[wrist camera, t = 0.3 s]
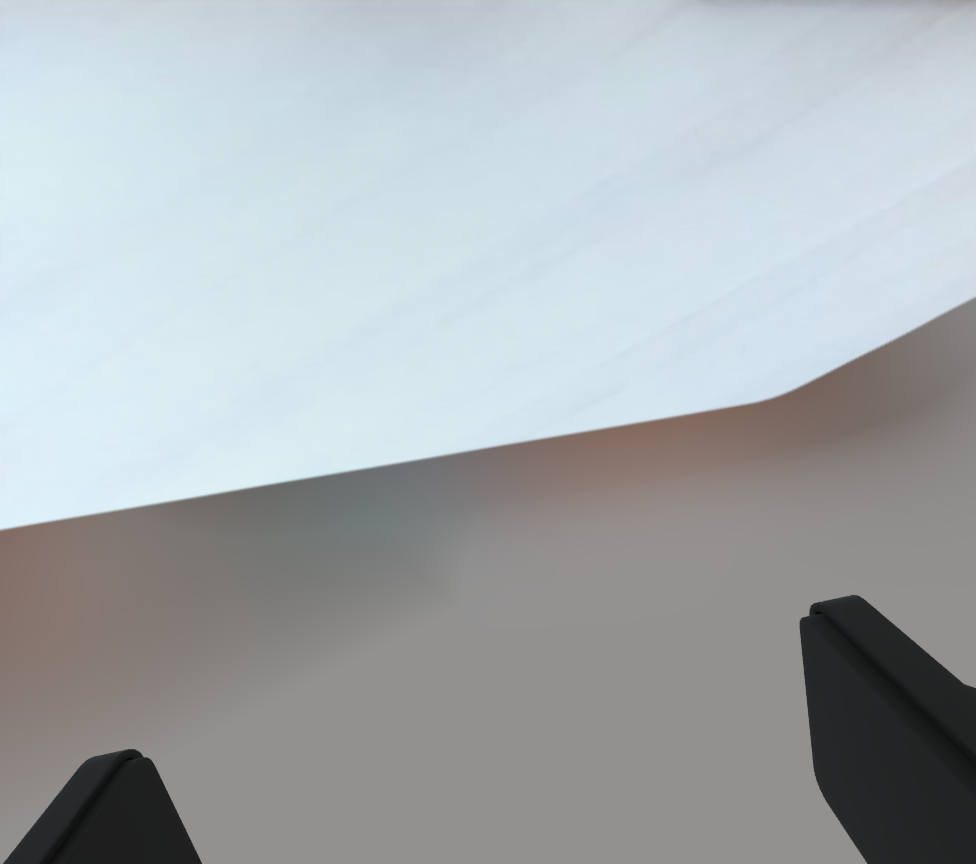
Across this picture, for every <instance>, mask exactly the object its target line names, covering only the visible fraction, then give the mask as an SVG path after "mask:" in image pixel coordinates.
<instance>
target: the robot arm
mask: <svg viewBox="0 0 976 864" xmlns="http://www.w3.org/2000/svg"><path fill="white" fill-rule="evenodd" d="M800 635H801V645H802V656H803V665H804V675H805V685H806V695H807V706H808V716H809V725H810V735H811V746H812V755H813V765H814V772H815V776H816V780H817V783H818V785H819V788H820V790H821V792H822V794H823V796H824V798H825V800H826V801H827V803H828V804H829V806H830V808H831V809H832V811H833V812H834V814H835V815H836V817H837V818H838V820H839V821H840V823H841V824H842V826H843V827H844V829H845V830H846V832H847V833H848V835H849V836H850V838H851V839H852V841H853V842H854V844H855V846H856V847H857V848H858V850H859V851H860V853H861V855H862V856H863V857H864V859H865V861H866V862H867V864H976V688H974V687H971V686H967V685H965V684H963V683H962V682H961V681H960V680H958V679H957V678H956V677H955V676H954V675H952V674H951V673H950V672H949V671H948V670H947V669H945V668H944V667H943V666H942V665H941V664H940V663H938V662H937V661H936V660H935V659H934V658H933V657H931V656H930V655H929V654H928V653H927V652H925V651H924V650H923V649H922V648H921V647H920V646H918V645H917V644H916V643H915V642H914V641H913V640H911V639H910V638H909V637H908V636H907V635H906V634H904V633H903V632H902V631H901V630H900V629H899V628H897V627H896V626H895V625H894V624H893V623H891V622H890V621H889V620H888V619H887V618H885V617H884V616H883V615H882V614H881V613H880V612H879V611H877V610H876V609H875V608H874V607H872V606H871V605H870V604H869V603H868V602H867V601H865V600H864V599H863V598H861V597H859V596H856V595H851V596H846V597H842V598H837V599H832V600H828V601H823V602H818V603H814V604H813V605H811V608H810V616H807V617H803V618H801V620H800ZM3 864H202V863H201V861H200V858H199V856H198V854H197V852H196V850H195V848H194V846H193V844H192V842H191V840H190V838H189V836H188V834H187V832H186V829H185V827H184V825H183V823H182V821H181V819H180V817H179V815H178V813H177V811H176V809H175V807H174V804H173V802H172V801H171V798H170V796H169V794H168V792H167V790H166V788H165V786H164V784H163V782H162V780H161V778H160V775H159V773H158V771H157V769H156V767H155V765H154V763H153V762H152V761H151V760H150V759H149V758H147V757H145V758H144V757H143V756H142V754H141V753H140V752H139V751H137V750H135V749H128V750H123V751H118V752H114V753H109V754H104V755H100V756H95V757H92V758H90V759H88V760H86V761H85V762H84V763H83V764H82V765H81V766H80V767H79V769H78V770H77V771H76V772H75V774H74V775H73V776H72V777H71V779H70V780H69V781H68V782H67V784H66V785H65V786H64V787H63V789H62V790H61V791H60V793H59V794H58V795H57V796H56V798H55V799H54V800H53V801H52V803H51V804H50V805H49V806H48V808H47V809H46V810H45V812H44V813H43V814H42V815H41V817H40V818H39V819H38V820H37V822H36V823H35V824H34V825H33V827H32V828H31V829H30V830H29V832H28V833H27V834H26V835H25V837H24V838H23V839H22V840H21V842H20V843H19V844H18V846H17V847H16V848H15V850H14V851H13V852H12V853H11V854H10V856H9V857H8V859H7V860H6V861H5V862H4V863H3Z"/></svg>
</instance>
